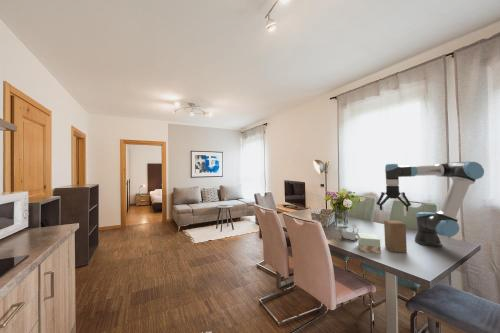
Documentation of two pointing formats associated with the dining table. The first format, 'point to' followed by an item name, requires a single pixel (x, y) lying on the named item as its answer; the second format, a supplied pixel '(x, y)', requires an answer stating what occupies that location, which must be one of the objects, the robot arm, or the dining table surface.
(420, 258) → the dining table surface
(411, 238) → the dining table surface
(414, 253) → the dining table surface
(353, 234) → the white toy machine
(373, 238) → the tower top
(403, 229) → the wooden block
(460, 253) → the dining table surface
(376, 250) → the tower base
